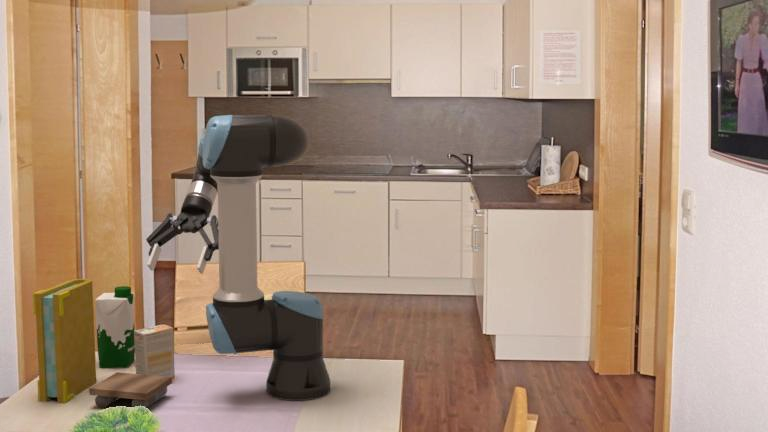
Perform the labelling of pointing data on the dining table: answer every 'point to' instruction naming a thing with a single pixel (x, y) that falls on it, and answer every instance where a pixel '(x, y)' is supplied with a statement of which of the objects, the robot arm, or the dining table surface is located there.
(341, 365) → the dining table surface
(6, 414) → the dining table surface
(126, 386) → the slab
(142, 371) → the supplement box
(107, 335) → the milk carton
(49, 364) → the book
